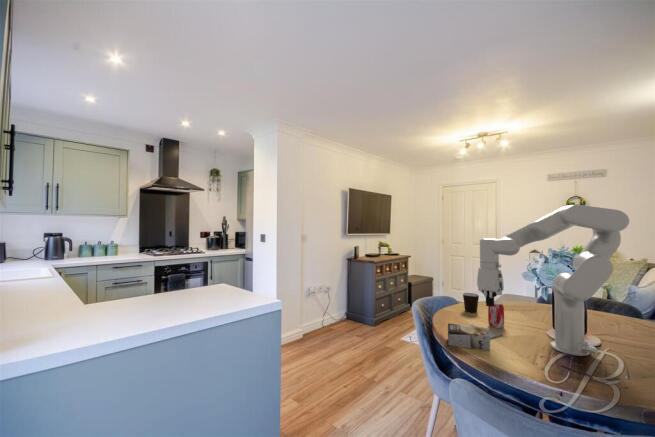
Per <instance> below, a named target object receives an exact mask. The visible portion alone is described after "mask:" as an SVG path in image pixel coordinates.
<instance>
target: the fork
mask: <svg viewBox="0 0 655 437" xmlns="http://www.w3.org/2000/svg"><path fill="white" fill-rule="evenodd" d="M560 366H561V367H563V368H565V369H568V370H570V371H573V372H576V373H578V374H581V375H583V374H584V376H586V375H587V377H589V376H590V377H589V378H593V379H595V378H596V379H595V380H597V379H598V380H597V381H600V380H599V379H600V378H598V377H595V376H593V375H591V374H588V373H586V372H583V371H582V370H578V369H575V368H571V367H569V366H567V365H566V366H565V365H563V364H561V365H560ZM608 382H609V383H607V382H605V383H606V384H605V385H614V384H618V383H620V382H621V380H615V381H608Z"/></svg>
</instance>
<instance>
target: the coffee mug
mask: <svg viewBox="0 0 655 437" xmlns="http://www.w3.org/2000/svg"><path fill="white" fill-rule="evenodd" d="M462 296H463V297H462V299H463V304H464V305H463V306H464V311H465V312H466V313H469V312H470V313H471V314H476V312H477V313H478V306H479V305H478V304H479V299H480V298H479V297H480V294H478V293H473V292H463V293H462Z"/></svg>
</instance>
